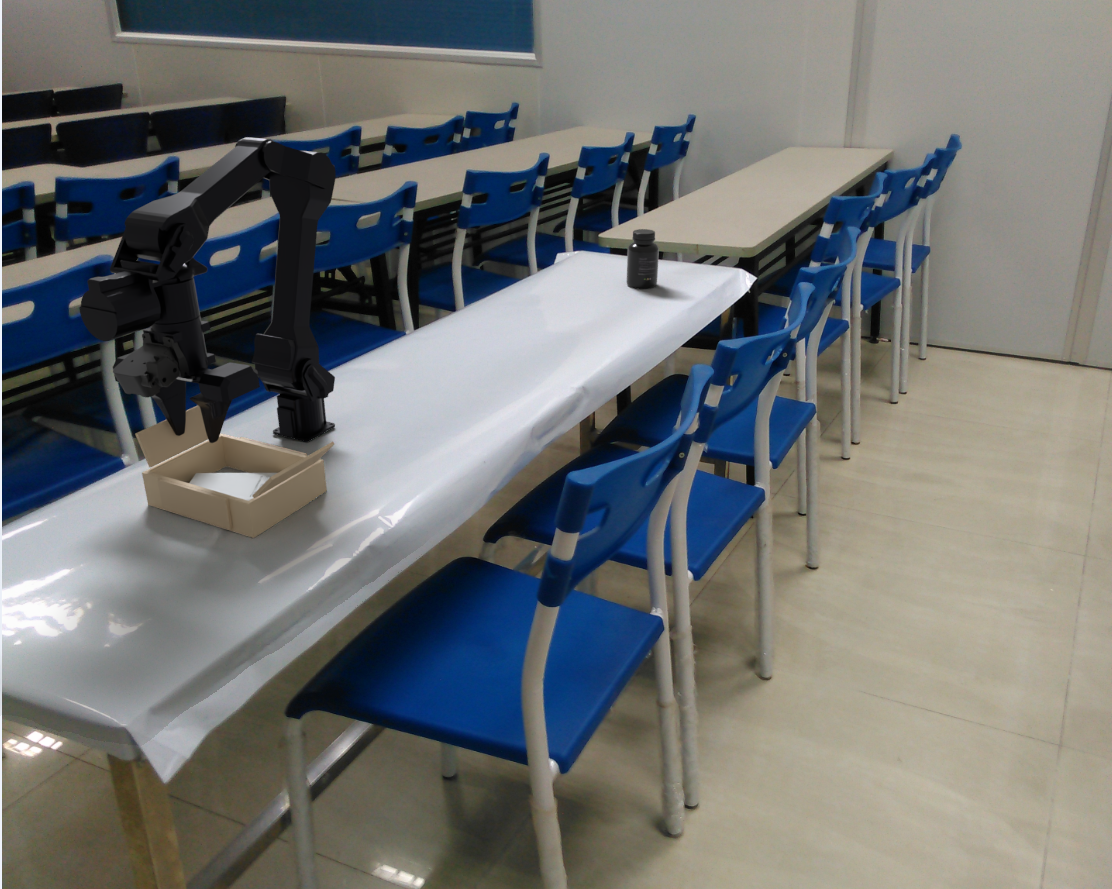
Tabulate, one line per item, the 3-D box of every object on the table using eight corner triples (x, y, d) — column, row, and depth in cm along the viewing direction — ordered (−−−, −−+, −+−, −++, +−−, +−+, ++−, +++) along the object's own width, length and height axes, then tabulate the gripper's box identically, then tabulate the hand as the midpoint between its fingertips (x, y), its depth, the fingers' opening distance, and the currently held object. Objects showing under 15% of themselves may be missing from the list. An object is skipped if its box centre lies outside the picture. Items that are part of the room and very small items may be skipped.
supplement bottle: (621, 282, 215) (623, 228, 209) (649, 280, 216) (652, 227, 211) (633, 290, 209) (635, 235, 204) (661, 288, 210) (664, 233, 205)
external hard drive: (198, 482, 124) (295, 481, 124) (178, 513, 116) (281, 512, 117) (196, 471, 123) (293, 470, 124) (176, 502, 116) (279, 500, 116)
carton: (228, 462, 130) (224, 432, 128) (329, 490, 123) (325, 458, 121) (145, 506, 118) (138, 474, 116) (250, 539, 111) (245, 505, 109)
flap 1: (151, 467, 117) (149, 467, 118) (217, 434, 126) (215, 434, 126) (137, 433, 116) (135, 433, 116) (205, 402, 125) (203, 403, 125)
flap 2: (314, 459, 120) (316, 461, 120) (252, 495, 111) (254, 498, 111) (332, 441, 117) (334, 444, 117) (270, 477, 108) (272, 480, 108)
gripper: (62, 326, 111) (91, 449, 117) (180, 346, 103) (204, 476, 109) (139, 303, 120) (162, 418, 126) (253, 319, 112) (271, 441, 119)
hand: (196, 438), depth 120 cm, fingers open, 5 cm apart
